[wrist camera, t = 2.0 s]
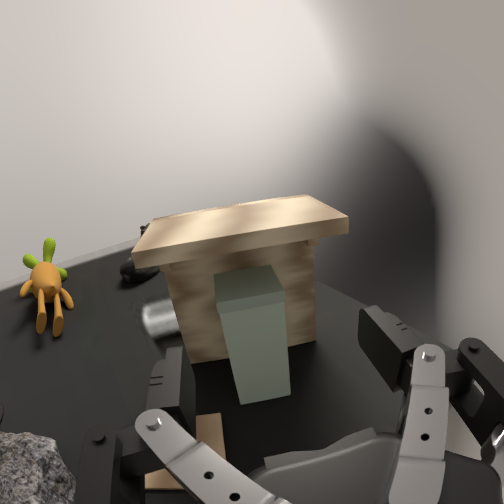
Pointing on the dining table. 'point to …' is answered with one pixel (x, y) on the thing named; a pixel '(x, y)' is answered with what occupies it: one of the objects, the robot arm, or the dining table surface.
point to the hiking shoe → (137, 274)
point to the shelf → (238, 262)
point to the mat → (206, 432)
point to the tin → (254, 331)
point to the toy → (46, 287)
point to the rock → (33, 471)
